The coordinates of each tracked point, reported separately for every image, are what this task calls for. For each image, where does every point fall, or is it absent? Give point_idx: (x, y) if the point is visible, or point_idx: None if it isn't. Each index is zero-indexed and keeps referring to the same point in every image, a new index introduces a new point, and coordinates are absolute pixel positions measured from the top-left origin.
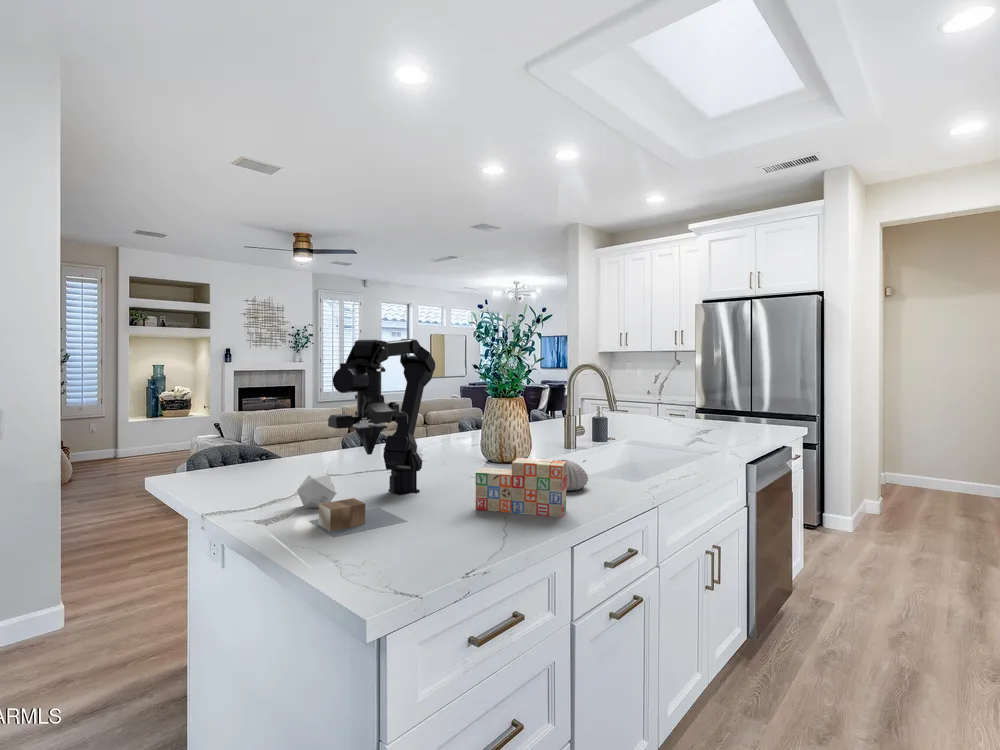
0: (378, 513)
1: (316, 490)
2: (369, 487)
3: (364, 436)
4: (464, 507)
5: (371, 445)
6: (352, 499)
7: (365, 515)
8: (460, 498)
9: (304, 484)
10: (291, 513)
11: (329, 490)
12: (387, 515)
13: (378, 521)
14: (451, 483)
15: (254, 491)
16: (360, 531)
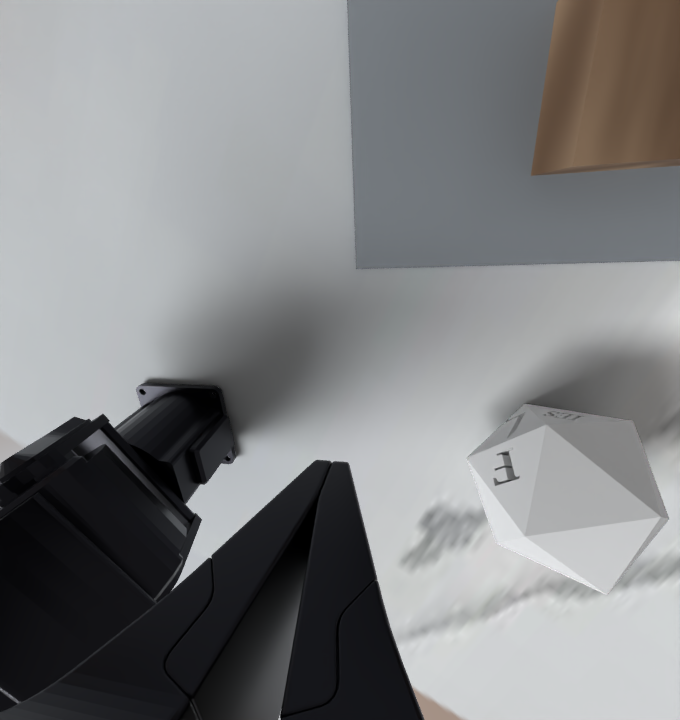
0: (399, 175)
1: (620, 450)
2: None
3: (421, 712)
4: (17, 39)
5: (300, 524)
6: (602, 130)
7: (465, 179)
8: (15, 206)
9: (662, 523)
10: (666, 427)
11: (554, 426)
12: (381, 108)
13: (473, 12)
14: (19, 414)
15: (577, 687)
16: None
